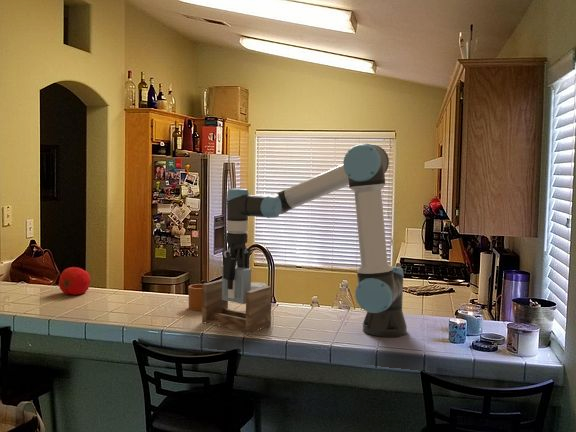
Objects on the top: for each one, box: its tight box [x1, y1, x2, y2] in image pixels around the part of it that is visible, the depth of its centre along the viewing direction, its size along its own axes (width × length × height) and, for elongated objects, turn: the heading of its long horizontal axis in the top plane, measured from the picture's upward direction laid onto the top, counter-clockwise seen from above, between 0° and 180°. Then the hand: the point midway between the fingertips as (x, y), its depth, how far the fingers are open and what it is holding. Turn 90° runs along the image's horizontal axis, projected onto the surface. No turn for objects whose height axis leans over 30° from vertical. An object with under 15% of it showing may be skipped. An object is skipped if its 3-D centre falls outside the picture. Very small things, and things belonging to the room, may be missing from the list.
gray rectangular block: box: [221, 266, 252, 305], centre depth 210 cm, size 10×4×12 cm, turn 56°
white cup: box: [251, 281, 267, 290], centre depth 232 cm, size 8×8×10 cm
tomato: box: [58, 266, 92, 296], centre depth 254 cm, size 13×13×13 cm
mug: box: [187, 283, 203, 312], centre depth 232 cm, size 9×12×9 cm
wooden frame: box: [201, 279, 272, 333], centre depth 211 cm, size 22×12×14 cm, turn 56°
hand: (236, 296), depth 211 cm, fingers closed on gray rectangular block, 4 cm apart
